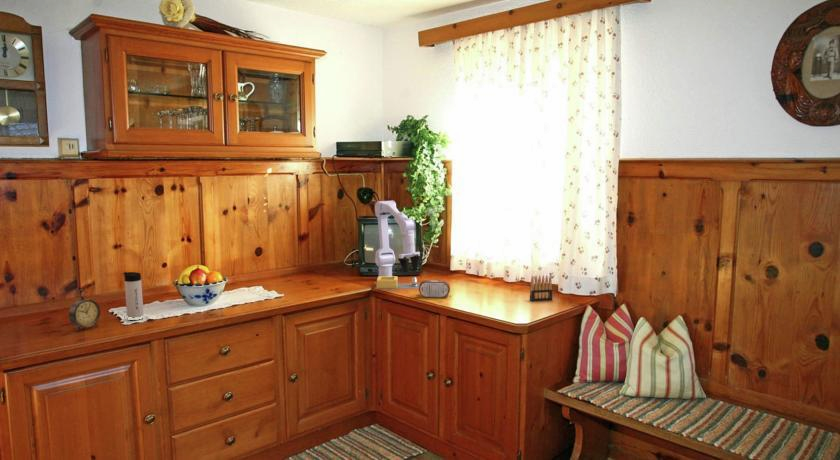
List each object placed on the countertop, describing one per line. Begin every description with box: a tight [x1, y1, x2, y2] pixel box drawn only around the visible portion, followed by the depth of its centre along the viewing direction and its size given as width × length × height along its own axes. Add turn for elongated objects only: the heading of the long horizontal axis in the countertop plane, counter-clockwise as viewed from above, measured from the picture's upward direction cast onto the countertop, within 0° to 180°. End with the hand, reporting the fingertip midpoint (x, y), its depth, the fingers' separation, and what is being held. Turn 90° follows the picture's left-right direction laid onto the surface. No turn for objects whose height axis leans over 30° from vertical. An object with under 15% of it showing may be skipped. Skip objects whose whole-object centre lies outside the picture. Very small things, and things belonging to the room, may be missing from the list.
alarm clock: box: [68, 288, 101, 332], centre depth 232 cm, size 11×5×16 cm, turn 155°
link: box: [376, 275, 399, 288], centre depth 303 cm, size 10×10×4 cm
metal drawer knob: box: [411, 276, 418, 287], centre depth 303 cm, size 4×4×4 cm
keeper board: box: [374, 282, 421, 290], centre depth 303 cm, size 13×26×1 cm, turn 89°
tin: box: [418, 279, 451, 299], centre depth 282 cm, size 15×3×8 cm, turn 84°
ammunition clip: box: [529, 274, 553, 302], centre depth 275 cm, size 11×2×12 cm, turn 101°
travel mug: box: [122, 271, 144, 318], centre depth 245 cm, size 6×7×20 cm
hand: (410, 271), depth 291 cm, fingers open, 7 cm apart
